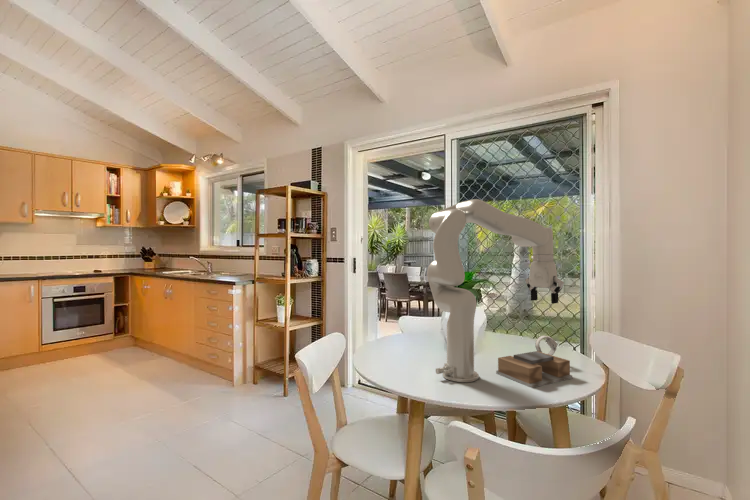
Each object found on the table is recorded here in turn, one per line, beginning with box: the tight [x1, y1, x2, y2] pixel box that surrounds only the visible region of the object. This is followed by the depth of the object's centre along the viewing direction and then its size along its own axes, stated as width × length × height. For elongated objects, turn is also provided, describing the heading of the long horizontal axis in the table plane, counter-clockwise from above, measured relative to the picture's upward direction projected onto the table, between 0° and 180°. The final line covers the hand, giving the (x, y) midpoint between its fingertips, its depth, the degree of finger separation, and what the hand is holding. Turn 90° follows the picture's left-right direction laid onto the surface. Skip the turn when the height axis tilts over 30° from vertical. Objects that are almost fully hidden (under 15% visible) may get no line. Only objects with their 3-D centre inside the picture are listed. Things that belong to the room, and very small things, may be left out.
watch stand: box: [495, 350, 573, 389], centre depth 133 cm, size 20×16×7 cm
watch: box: [534, 335, 558, 356], centre depth 148 cm, size 6×8×11 cm
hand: (544, 301), depth 148 cm, fingers open, 9 cm apart
